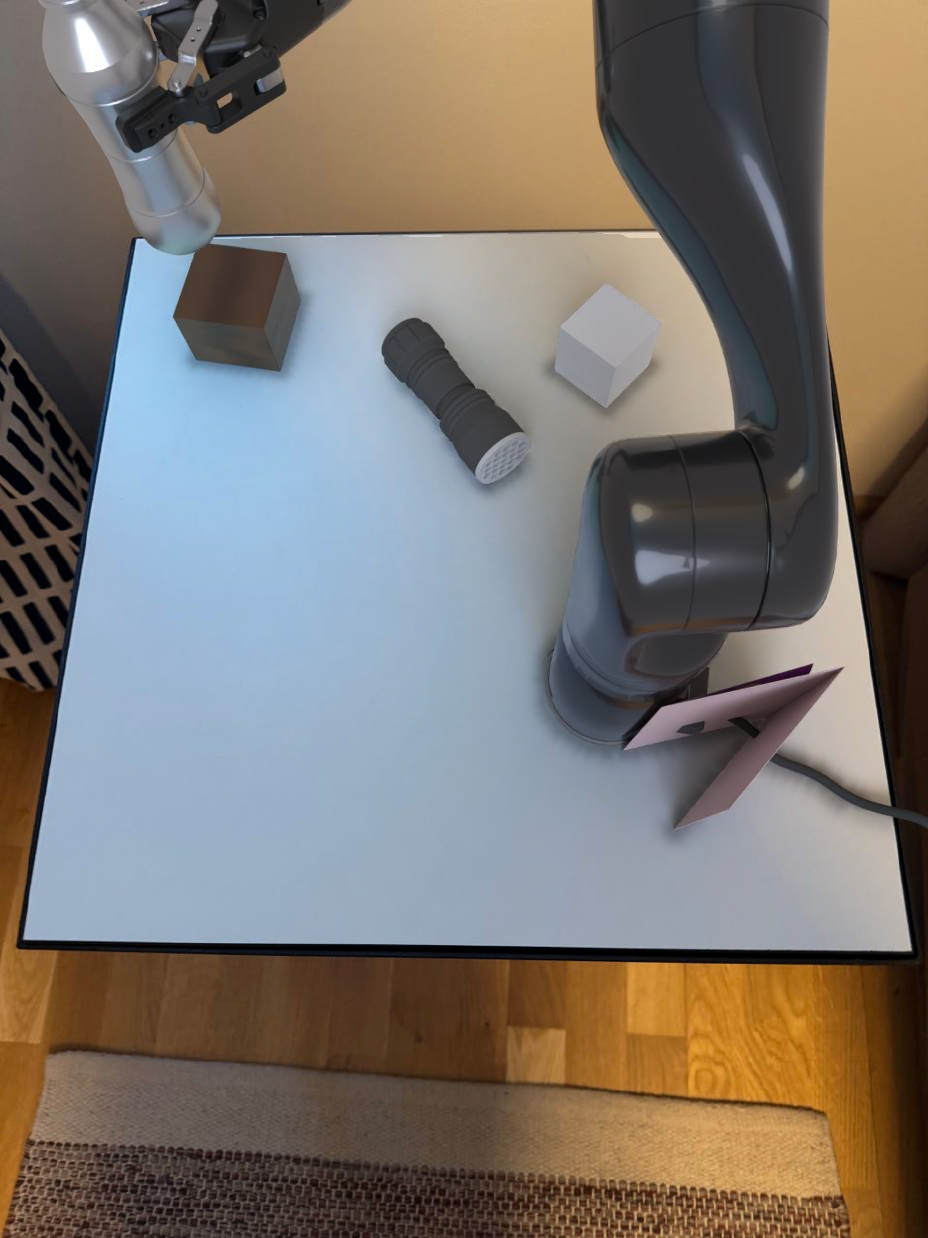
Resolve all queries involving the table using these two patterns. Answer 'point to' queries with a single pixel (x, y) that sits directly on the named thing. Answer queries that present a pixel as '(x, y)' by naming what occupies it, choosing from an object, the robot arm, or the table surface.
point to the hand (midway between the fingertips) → (91, 110)
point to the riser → (238, 306)
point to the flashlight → (455, 401)
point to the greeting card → (763, 698)
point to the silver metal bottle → (104, 88)
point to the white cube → (606, 345)
